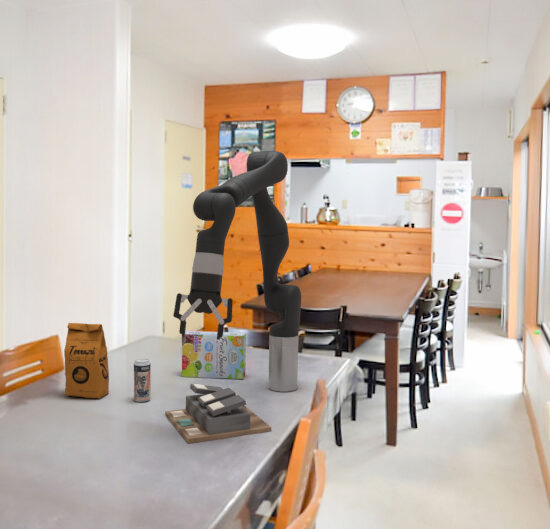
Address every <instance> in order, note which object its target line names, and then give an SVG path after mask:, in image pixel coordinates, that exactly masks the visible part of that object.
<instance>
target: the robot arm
mask: <svg viewBox="0 0 550 529" xmlns="http://www.w3.org/2000/svg"><path fill="white" fill-rule="evenodd" d="M288 167H289V164H288V159H287V157H286V155H285V154H284V153H283V152H281V151H277V150H266V151H265V150H262V151H261V150H259V151H258V150H257V151H252V152H250V153H249V154H248V155H247V159H246V171H244V172H242V173H240V174H237V175H234V176H233V177H231V178H230V179H228V180H227V181H225V182H223V183H222V184H221V185H218V186H213V187H212V188H208V189H206V190H204V191H202V192H200V193H199V194H198V195H197V196H196V197H195V199H194V202H193V203H192V210H193V214H194V215H195V217H196V218H197V219H199V221H200V220H201V221H204V222H205V221H206V222H213V223H212V224H211V226H210V227H209V228H207V229H206V228H205V229H202V230H200V231H198V233H197V236H196V244H195V245H196V246H195V253H194V258H193V264H192V267H191V269H192V270H191V272H192V273H191V282H190V288H189V294H182V293H181V292H178V293H177V294H176V299H175V304H174V310H173V314H172V315H173V317H174V318H175V319H178V320H179V321H180V322H179V331H178V332H179V334H180V335H181V338H182V337H185V331H187V330H186V328H187V321H186V320H187V318H188V317H189V316H190V315H191V314H192V313H193V312H195V313H197V314H198V313H199V314H203V313H204V314H207V315H210V314H212V313H213V314H214V316H215V318H216V320H217V321H218V324H217V330H216V332H217V340H220V338H222V336H223V332H224V329H225V324H230V323H231V322H232V321H233V303H234V302H233V299H232V297H231V298H230V297H229V298H222V295H221V293H222V283H223V276H224V274H223V273H224V254H225V247H226V246H225V245H226V243H225V242H226V239H227V236H228V233H229V231H230V228H231V225H232V222H233V221H234V217H235V214H236V211H237V210H236V209H237V208H238V207H239V206H241V205H242V204H243V203H244V202H246V201H247V200H248V199H249V198H251V197H252V201H253V207H254V214H255V218H256V219H255V221H256V228H257V229H256V231H257V237H258V244H259V245H258V246H259V251H260V257H261V266H262V282H263V283H262V284H263V299H264V300H263V301H264V305H265V307H266V310H267V311H268V312H270V313H276V314H284V319H283V320H282V321H280V322H277V323H273V324H271V325H270V326H269V340H268V346H269V347H268V389H269V390H271V391H274V392H282V393H283V392H284V393H285V392H286V393H287V392H293V391H296V390H297V389H298V377H299V376H298V374H299V373H298V372H299V370H298V369H299V367H298V366H299V364H298V363H299V329H300V323H301V310H302V309H301V308H302V292H301V289H300V287H299V286H297V285H296V284H288V283H287V284H286V283H279V276H278V273H279V268H280V266H281V264H282V262H283V260H284V258H285V257H286V254H287V252H288V249H289V247H290V239H289V238H290V237H289V228H288V223H287V220H286V219H285V217H284V215H283V214H282V213H281V211H280V210H279V209H278V207H277V206H276V205H275V202H273V200H272V199H271V197H270V194H269V191H268V188H269V187H271V186H273V185H276V184H279V183H281V182H282V181H284V180H285V178H286V176H287V175H288V170H289V169H288ZM186 300H187V301H188V302H189V305H190V307H188V309H187V310H186V311H185V312H184V313H182V314H181V313H180V312H181V306H182V305H181V304H183V303H184V302H185V301H186ZM222 303H223V306H224V307H225V308H226V317H225V318H223V317H222V315H221V313H220V312H219V310H218V307H219V306H220V305H221V304H222Z"/></svg>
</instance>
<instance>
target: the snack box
mask: <svg viewBox="0 0 550 529" xmlns="http://www.w3.org/2000/svg"><path fill="white" fill-rule="evenodd" d="M246 342H247V333H246V332H228V331H223V336H222V338H220V340H217V331H201V330H200V331H195V330H185V337H182V336H181V377H182V378H202V379H204V378H205V379H208V378H209V379H230V380H244V378H245V377H246V369H247V368H246V365H247V364H246V359H247V358H246V355H247V354H246V349H247V348H246V347H247V343H246Z"/></svg>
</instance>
